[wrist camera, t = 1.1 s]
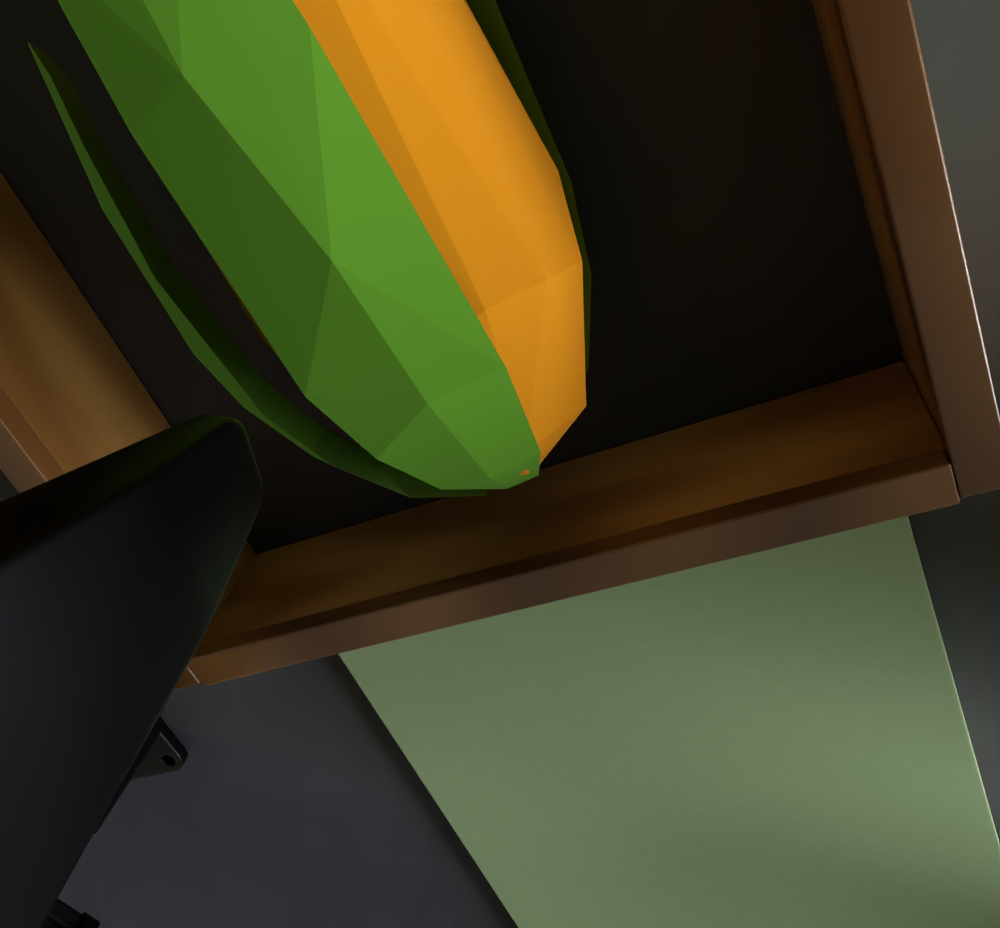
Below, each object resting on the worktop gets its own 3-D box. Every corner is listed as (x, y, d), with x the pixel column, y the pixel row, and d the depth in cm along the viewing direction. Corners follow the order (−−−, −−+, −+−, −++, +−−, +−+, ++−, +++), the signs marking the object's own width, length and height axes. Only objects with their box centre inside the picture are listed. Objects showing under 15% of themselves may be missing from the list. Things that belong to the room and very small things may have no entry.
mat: (608, 1051, 36) (607, 1064, 36) (314, 599, 26) (308, 610, 26) (1050, 1027, 31) (1055, 1043, 30) (886, 445, 21) (891, 456, 20)
